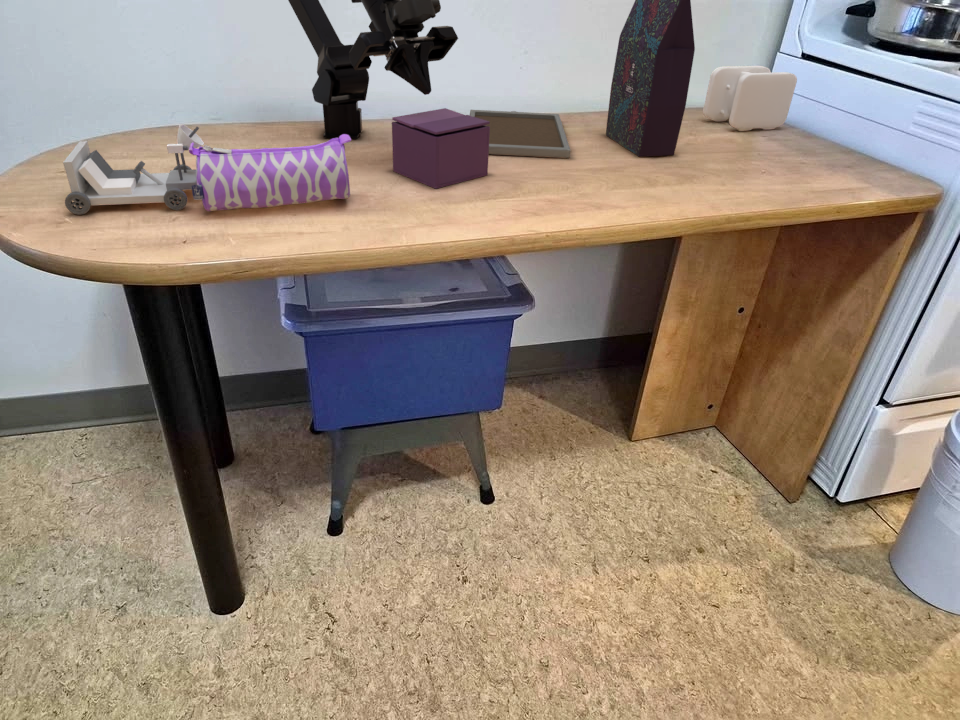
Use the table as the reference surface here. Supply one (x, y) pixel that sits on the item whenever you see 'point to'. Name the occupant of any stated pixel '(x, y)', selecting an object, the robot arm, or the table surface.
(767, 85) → the cable organizer
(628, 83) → the decorative box
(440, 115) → the flap
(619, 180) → the table surface
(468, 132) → the box
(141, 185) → the toy car
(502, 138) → the grey rectangular tray
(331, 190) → the pencil case
